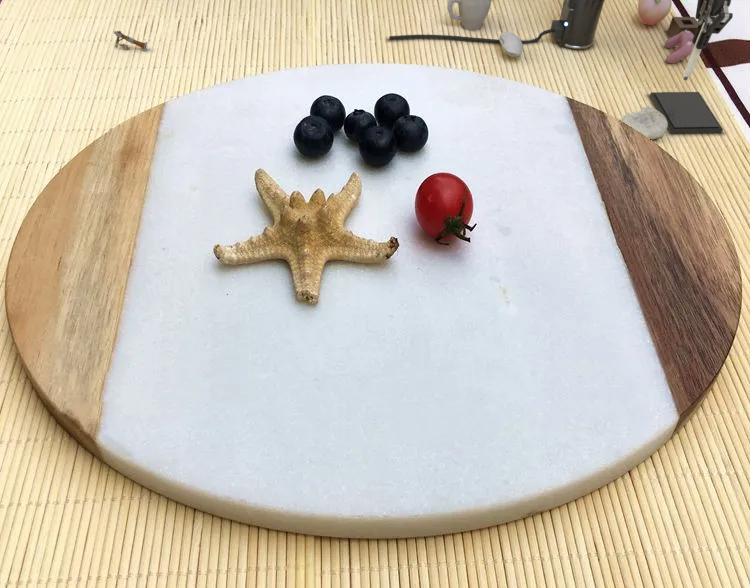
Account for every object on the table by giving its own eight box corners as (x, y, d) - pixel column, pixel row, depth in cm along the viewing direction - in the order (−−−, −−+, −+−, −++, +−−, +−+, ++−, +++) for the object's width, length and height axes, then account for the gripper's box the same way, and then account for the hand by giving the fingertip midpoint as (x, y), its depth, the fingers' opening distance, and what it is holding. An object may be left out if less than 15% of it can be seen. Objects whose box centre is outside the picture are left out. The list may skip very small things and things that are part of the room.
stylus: (682, 81, 158) (705, 25, 148) (680, 77, 159) (702, 21, 149) (690, 81, 158) (713, 25, 148) (687, 77, 159) (710, 21, 149)
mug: (480, 16, 187) (486, -22, 179) (492, 31, 182) (498, -7, 174) (440, 20, 185) (443, -17, 177) (451, 36, 180) (455, -2, 172)
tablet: (670, 134, 154) (672, 129, 153) (649, 96, 164) (651, 91, 163) (721, 133, 155) (723, 128, 154) (697, 95, 164) (699, 90, 164)
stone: (492, 47, 177) (496, 28, 173) (511, 45, 178) (515, 25, 174) (506, 66, 171) (510, 46, 167) (526, 63, 172) (530, 44, 168)
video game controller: (677, 71, 174) (700, 49, 169) (664, 61, 173) (686, 38, 168) (675, 52, 180) (696, 30, 175) (662, 43, 179) (683, 20, 174)
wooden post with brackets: (112, 43, 171) (115, 27, 168) (144, 56, 174) (147, 41, 171) (110, 46, 170) (113, 30, 167) (142, 60, 173) (145, 44, 170)
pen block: (674, 42, 180) (680, 27, 177) (667, 31, 184) (672, 16, 181) (696, 42, 181) (702, 27, 177) (688, 31, 184) (694, 16, 181)
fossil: (636, 95, 156) (676, 113, 154) (629, 109, 159) (668, 127, 157) (620, 117, 150) (662, 136, 148) (613, 131, 153) (654, 150, 151)
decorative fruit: (667, 33, 183) (681, -5, 175) (637, 32, 183) (650, -6, 175) (658, 17, 189) (672, -21, 181) (630, 16, 189) (642, -22, 181)
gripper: (702, -52, 143) (672, 31, 156) (727, -24, 134) (692, 61, 148) (736, -52, 143) (703, 31, 157) (763, -24, 135) (725, 61, 148)
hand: (698, 45), depth 152 cm, fingers closed on stylus, 2 cm apart
